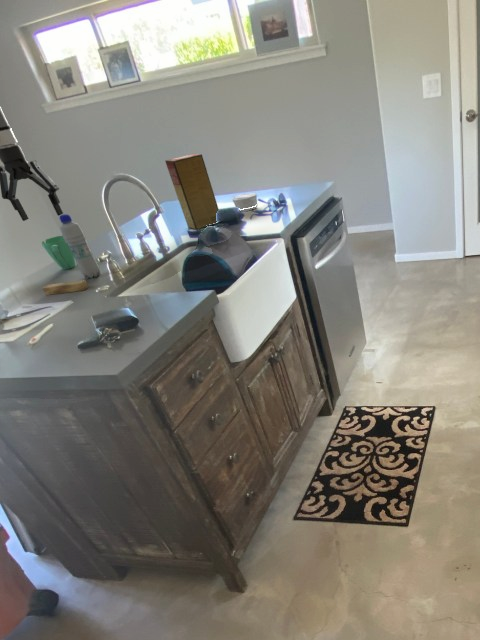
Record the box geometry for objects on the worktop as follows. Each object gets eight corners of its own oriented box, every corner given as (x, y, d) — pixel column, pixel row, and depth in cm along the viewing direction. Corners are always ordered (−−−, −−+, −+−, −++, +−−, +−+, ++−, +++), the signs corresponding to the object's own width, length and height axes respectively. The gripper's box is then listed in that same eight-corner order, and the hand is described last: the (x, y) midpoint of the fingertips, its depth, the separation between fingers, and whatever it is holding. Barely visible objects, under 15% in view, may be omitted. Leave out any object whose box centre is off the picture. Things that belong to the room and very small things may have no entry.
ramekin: (237, 214, 235) (233, 200, 232) (234, 209, 243) (230, 196, 240) (261, 208, 237) (257, 195, 233) (257, 204, 245) (254, 192, 241)
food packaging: (213, 219, 232) (193, 153, 216) (223, 221, 227) (203, 153, 210) (186, 227, 227) (163, 160, 210) (196, 230, 221) (173, 160, 204)
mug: (56, 267, 203) (41, 239, 196) (82, 261, 205) (68, 233, 198) (53, 276, 192) (38, 248, 186) (81, 270, 195) (66, 241, 188)
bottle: (99, 277, 184) (70, 215, 170) (81, 280, 184) (50, 218, 170) (104, 271, 189) (76, 210, 175) (86, 275, 189) (56, 213, 175)
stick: (46, 295, 176) (42, 288, 174) (50, 292, 178) (46, 285, 176) (84, 290, 174) (81, 283, 173) (88, 287, 177) (85, 279, 175)
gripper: (47, 139, 174) (79, 209, 188) (-21, 150, 177) (17, 219, 191) (35, 142, 169) (70, 215, 183) (-34, 154, 171) (5, 224, 185)
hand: (43, 217), depth 187 cm, fingers open, 13 cm apart
